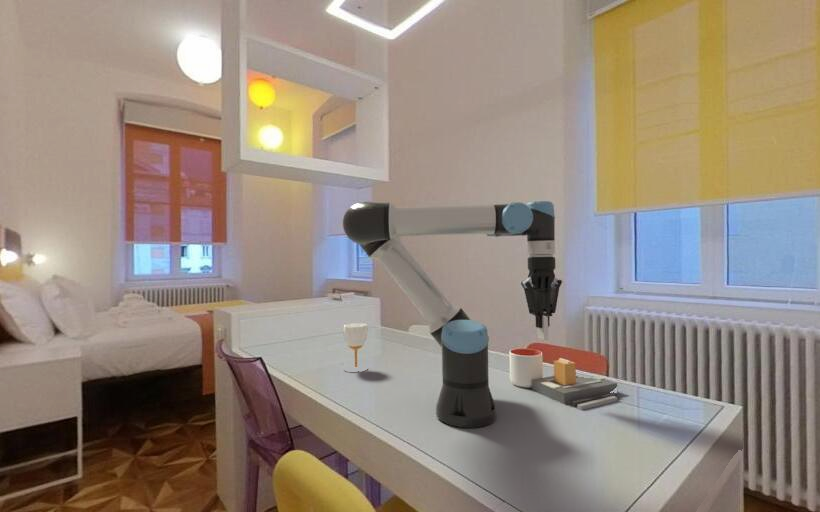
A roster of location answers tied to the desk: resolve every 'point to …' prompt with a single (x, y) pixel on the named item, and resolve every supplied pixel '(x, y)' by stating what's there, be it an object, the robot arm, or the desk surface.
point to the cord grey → (596, 402)
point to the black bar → (592, 399)
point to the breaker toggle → (564, 372)
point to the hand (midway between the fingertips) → (542, 338)
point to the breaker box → (573, 388)
